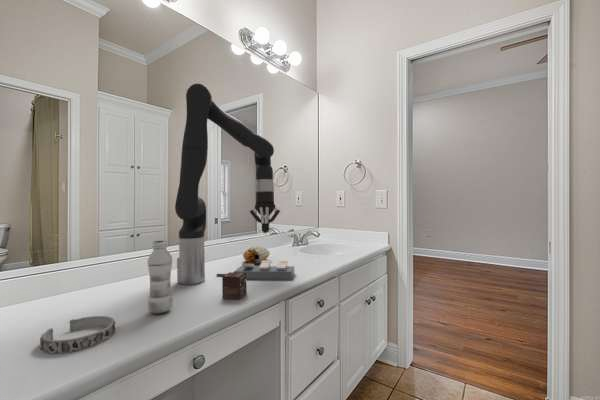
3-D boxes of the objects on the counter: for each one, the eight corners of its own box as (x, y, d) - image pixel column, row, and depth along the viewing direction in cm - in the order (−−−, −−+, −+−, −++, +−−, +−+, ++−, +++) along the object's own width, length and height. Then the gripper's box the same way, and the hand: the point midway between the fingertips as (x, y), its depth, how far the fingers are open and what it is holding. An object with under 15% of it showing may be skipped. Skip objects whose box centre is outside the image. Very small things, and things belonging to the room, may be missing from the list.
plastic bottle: (166, 306, 86) (165, 239, 86) (177, 311, 82) (176, 241, 82) (143, 312, 81) (142, 241, 81) (154, 318, 77) (153, 243, 77)
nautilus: (253, 270, 130) (227, 269, 136) (276, 258, 149) (252, 258, 156) (251, 253, 130) (225, 253, 136) (275, 243, 149) (251, 243, 156)
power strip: (212, 279, 115) (212, 271, 115) (220, 273, 124) (220, 265, 124) (291, 280, 112) (291, 271, 112) (294, 274, 121) (294, 266, 121)
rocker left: (241, 267, 115) (241, 263, 116) (245, 268, 121) (246, 263, 121) (250, 267, 115) (250, 263, 115) (254, 268, 121) (254, 263, 121)
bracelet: (35, 363, 57) (35, 348, 57) (44, 337, 68) (44, 324, 68) (117, 342, 65) (117, 329, 65) (113, 321, 76) (113, 310, 76)
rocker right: (276, 271, 114) (276, 267, 114) (278, 264, 120) (278, 260, 120) (285, 271, 114) (285, 267, 114) (287, 264, 120) (287, 260, 119)
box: (239, 300, 90) (239, 276, 90) (221, 299, 92) (221, 276, 92) (247, 293, 96) (246, 272, 96) (230, 293, 98) (230, 271, 98)
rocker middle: (259, 271, 115) (259, 267, 115) (262, 264, 121) (262, 260, 120) (268, 271, 115) (267, 267, 114) (270, 264, 121) (270, 260, 120)
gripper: (246, 190, 116) (247, 233, 116) (279, 190, 115) (279, 233, 115) (251, 191, 124) (252, 231, 124) (281, 190, 123) (282, 231, 123)
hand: (265, 232), depth 119 cm, fingers closed
